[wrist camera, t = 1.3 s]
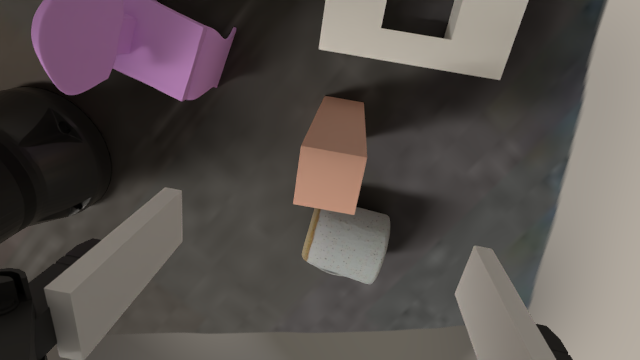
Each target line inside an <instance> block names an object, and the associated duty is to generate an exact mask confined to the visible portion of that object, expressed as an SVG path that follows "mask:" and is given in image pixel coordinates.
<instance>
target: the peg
mask: <svg viewBox="0 0 640 360" xmlns="http://www.w3.org/2000/svg"><path fill="white" fill-rule="evenodd" d="M366 161H367V146H366V129H365V113H364V102H358V101H352V100H346V99H341V98H335V97H329V96H324V99H323V101H322V103H321V105H320V107H319V109H318V111H317V113H316V115H315V118H314V120H313V122H312V124H311V126H310V128H309V130H308V132H307V134H306V137H305V139H304V141H303V143H302V145H301V150H300V158H299V165H298V172H297V179H296V187H295V194H294V201H293V204H296V205H302V206H307V207H313V208H318V209H324V210H329V211H334V212H340V213H345V214H351V215H354V214H355V210H356V205H357V201H358V197H359V192H360V188H361V183H362V179H363V174H364V170H365V165H366Z"/></svg>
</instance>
